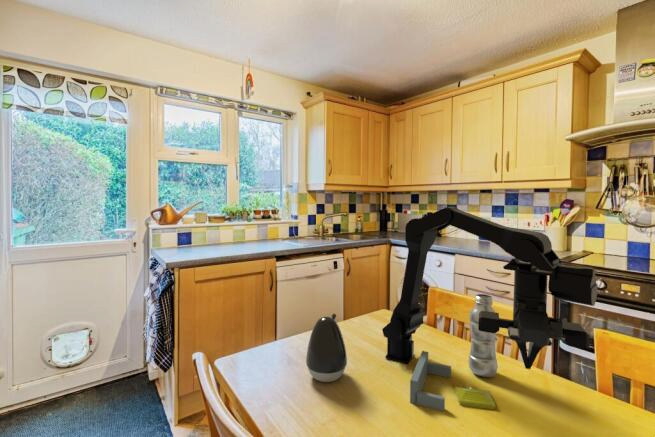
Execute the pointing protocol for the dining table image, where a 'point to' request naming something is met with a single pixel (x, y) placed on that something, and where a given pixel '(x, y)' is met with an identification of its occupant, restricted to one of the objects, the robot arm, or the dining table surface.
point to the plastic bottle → (482, 341)
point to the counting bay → (419, 379)
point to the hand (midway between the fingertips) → (527, 368)
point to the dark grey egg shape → (326, 350)
